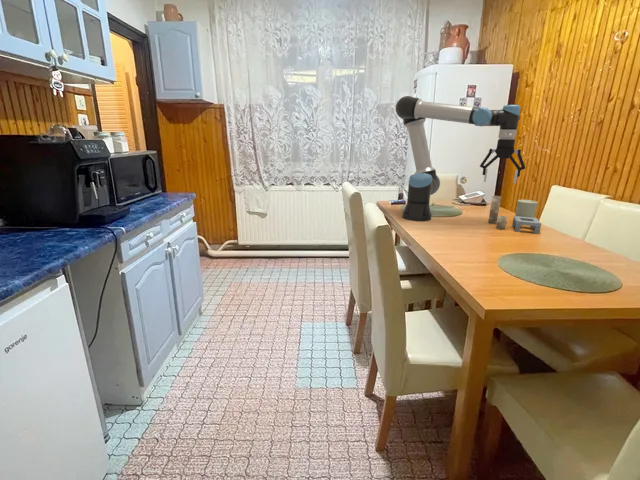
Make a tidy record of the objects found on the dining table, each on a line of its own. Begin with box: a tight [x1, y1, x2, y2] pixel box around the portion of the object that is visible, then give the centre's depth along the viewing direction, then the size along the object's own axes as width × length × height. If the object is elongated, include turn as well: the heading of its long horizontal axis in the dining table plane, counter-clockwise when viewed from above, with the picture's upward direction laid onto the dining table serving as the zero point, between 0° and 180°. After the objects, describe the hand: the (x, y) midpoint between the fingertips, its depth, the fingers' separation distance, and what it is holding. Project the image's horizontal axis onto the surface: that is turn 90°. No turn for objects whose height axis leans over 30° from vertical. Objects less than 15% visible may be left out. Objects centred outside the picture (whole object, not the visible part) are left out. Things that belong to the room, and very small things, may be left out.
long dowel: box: [487, 195, 502, 225], centre depth 179 cm, size 4×4×14 cm
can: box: [514, 199, 538, 218], centre depth 181 cm, size 9×9×12 cm
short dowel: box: [495, 215, 508, 231], centre depth 170 cm, size 4×4×6 cm
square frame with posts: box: [511, 215, 542, 235], centre depth 169 cm, size 10×12×5 cm
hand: (499, 182), depth 175 cm, fingers open, 13 cm apart
